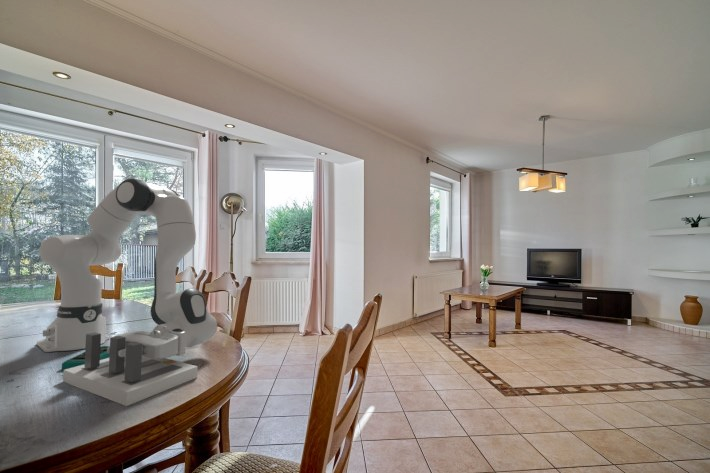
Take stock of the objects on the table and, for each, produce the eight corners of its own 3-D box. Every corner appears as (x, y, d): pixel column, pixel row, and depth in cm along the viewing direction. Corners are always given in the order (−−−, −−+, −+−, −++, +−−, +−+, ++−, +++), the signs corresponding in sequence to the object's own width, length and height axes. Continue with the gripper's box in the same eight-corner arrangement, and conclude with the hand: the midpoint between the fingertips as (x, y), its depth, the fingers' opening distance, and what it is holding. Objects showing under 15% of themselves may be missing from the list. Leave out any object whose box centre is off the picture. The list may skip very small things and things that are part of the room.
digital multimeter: (117, 353, 107) (118, 345, 107) (89, 370, 92) (89, 360, 92) (92, 355, 106) (93, 346, 106) (60, 372, 91) (60, 361, 91)
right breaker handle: (124, 380, 77) (126, 343, 77) (133, 377, 79) (134, 341, 79) (131, 382, 76) (133, 345, 76) (140, 379, 78) (142, 343, 78)
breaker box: (62, 381, 84) (63, 369, 84) (135, 360, 100) (135, 350, 100) (126, 406, 71) (127, 391, 72) (197, 377, 88) (197, 365, 88)
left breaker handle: (84, 367, 85) (86, 334, 85) (93, 364, 87) (94, 332, 87) (90, 368, 84) (92, 335, 84) (99, 366, 85) (100, 333, 86)
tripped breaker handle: (108, 371, 82) (110, 337, 82) (117, 369, 84) (118, 335, 84) (115, 373, 81) (117, 339, 81) (124, 371, 83) (125, 337, 83)
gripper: (144, 323, 99) (91, 334, 86) (189, 332, 90) (138, 345, 77) (143, 344, 99) (90, 358, 86) (188, 355, 90) (136, 372, 77)
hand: (113, 352), depth 82 cm, fingers closed on tripped breaker handle, 3 cm apart
